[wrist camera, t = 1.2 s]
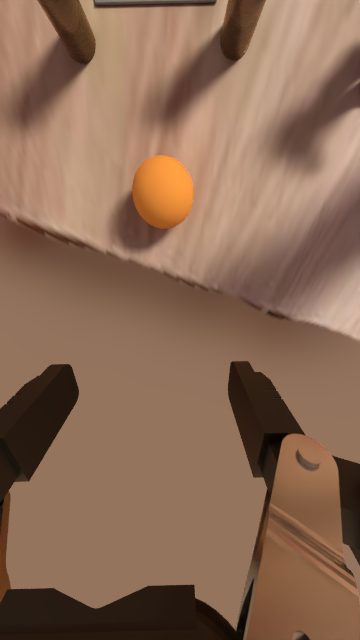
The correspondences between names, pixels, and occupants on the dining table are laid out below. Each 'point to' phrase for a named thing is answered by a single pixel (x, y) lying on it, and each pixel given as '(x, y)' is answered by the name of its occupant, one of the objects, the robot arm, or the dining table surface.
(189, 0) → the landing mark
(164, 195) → the ball
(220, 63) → the dining table surface
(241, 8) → the post
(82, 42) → the post
